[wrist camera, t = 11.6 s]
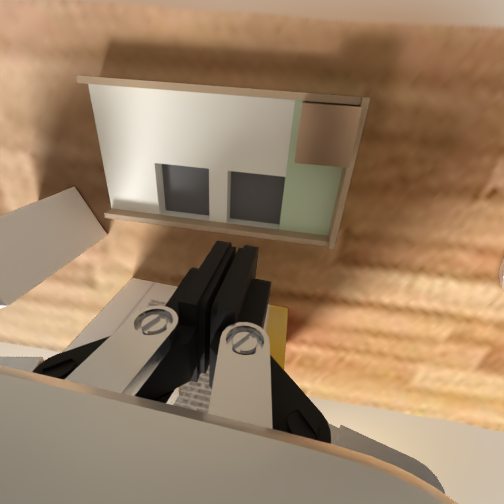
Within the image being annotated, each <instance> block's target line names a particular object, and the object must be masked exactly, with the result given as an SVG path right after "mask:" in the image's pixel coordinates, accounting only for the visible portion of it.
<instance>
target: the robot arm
mask: <svg viewBox="0 0 504 504" xmlns="http://www.w3.org/2000/svg"><path fill="white" fill-rule="evenodd" d="M257 259H258V247H254V246H248V245H245V246H244V248H239V249H238V251H237V253H236V247H232V245H231V243H229V242H223V241H217V242H216V243H215V245H214V247H213V248H212V250H211V251H210V253H209V254H208V256H207V257H206V259H205V260H204V262H203V264H202V265H201V267H200V268H199V269H196V268H191V269H190V270H189V272H188V273H187V275H186V276H185V278H184V279H183V280H182V282H181V283H180V285H179V286H178V288H177V289H176V290H175V292H174V293H173V295H172V296H171V298H170V299H169V301H168V302H167V303H166V305H165V306H150V307H146V308H144V309H141V310H139V311H138V312H136V313H135V314H134V315H133V316H132V317H131V318H129V319H128V320H127V321H126V322H125V323H124V324H123V325H122V326H121V327H120V328H119V329H118V330H117V331H116V332H114V333H113V334H112V335H111V336H108V337H105V338H103V339H100V340H97V341H94V342H91V343H88V344H85V345H82V346H80V347H77V348H74V349H71V350H68V351H65V352H62V353H60V354H57V355H55V356H52V357H50V358H48V359H47V360H45V361H44V360H43V357H0V504H458V503H457V502H455V501H454V500H453V499H451V498H450V497H448V496H447V495H445V492H444V489H443V487H442V485H441V484H440V482H439V480H438V479H437V477H436V476H435V475H434V474H433V473H432V472H431V471H430V470H429V469H428V468H427V467H426V466H425V465H424V464H422V463H420V462H419V461H417V460H416V459H414V458H411V457H409V456H407V455H405V454H403V453H401V452H399V451H397V450H394V449H392V448H390V447H388V446H386V445H383V444H381V443H379V442H377V441H375V440H373V439H370V438H368V437H366V436H364V435H362V434H359V433H358V432H355V431H353V430H351V429H349V428H347V427H345V426H342V425H341V426H340V428H337V427H335V426H333V425H330V424H329V423H328V422H327V420H326V419H325V417H324V416H323V415H322V413H321V412H320V411H319V410H318V408H317V407H316V406H315V405H314V404H313V403H312V402H311V400H310V399H309V398H308V397H307V396H306V395H305V394H304V393H303V391H302V390H301V389H300V388H299V387H298V386H297V385H296V383H295V382H294V381H293V380H292V379H291V378H290V377H289V375H288V374H287V373H286V372H285V371H284V370H283V369H282V367H281V366H280V365H279V364H278V363H277V362H276V361H275V359H274V358H273V357H272V356H271V355H270V341H269V337H268V335H267V333H266V332H265V330H263V328H264V323H265V318H266V313H267V307H268V301H269V295H270V288H271V282H270V281H265V280H259V279H255V276H256V267H257ZM499 280H500V284H501V287H502V289H503V290H504V258H503V260H502V263H501V266H500V269H499ZM209 364H210V367H209ZM208 367H209V386H210V388H211V390H212V392H211V398H210V404H209V410H208V413H204V412H200V411H196V410H191V409H187V408H183V407H179V406H174V405H173V404H174V403H175V401H176V399H177V398H178V396H179V394H180V392H181V389H182V385H184V384H186V383H188V382H190V381H193V382H198V379H199V376H200V374H201V373H203V374H206V372H207V370H208Z"/></svg>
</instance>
